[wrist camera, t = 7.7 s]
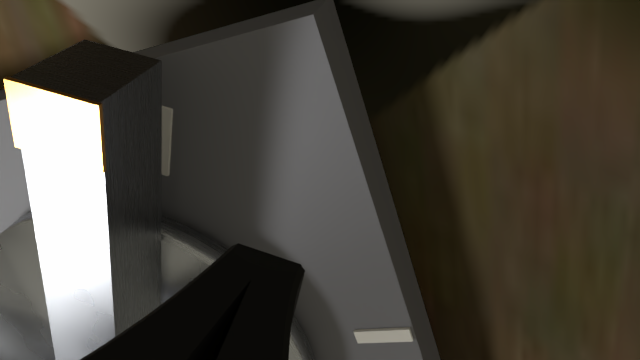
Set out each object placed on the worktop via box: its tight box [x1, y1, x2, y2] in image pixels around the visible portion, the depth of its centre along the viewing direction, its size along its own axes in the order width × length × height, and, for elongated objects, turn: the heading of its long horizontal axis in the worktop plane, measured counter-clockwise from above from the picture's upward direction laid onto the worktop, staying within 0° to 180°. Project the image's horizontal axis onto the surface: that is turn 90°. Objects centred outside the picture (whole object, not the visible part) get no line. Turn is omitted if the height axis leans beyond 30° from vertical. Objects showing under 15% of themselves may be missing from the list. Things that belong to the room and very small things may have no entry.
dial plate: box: [0, 0, 441, 360], centre depth 21 cm, size 20×20×2 cm
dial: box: [0, 40, 315, 360], centre depth 18 cm, size 18×13×4 cm
